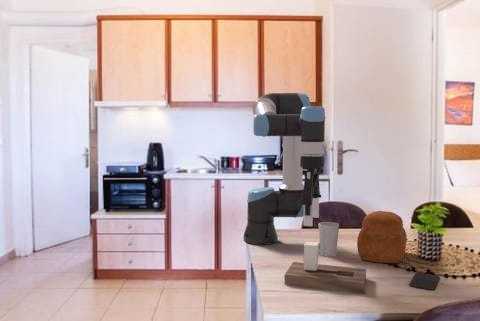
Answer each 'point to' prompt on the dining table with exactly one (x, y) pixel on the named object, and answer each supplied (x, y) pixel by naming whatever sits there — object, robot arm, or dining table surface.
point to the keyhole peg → (311, 256)
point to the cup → (328, 238)
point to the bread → (382, 238)
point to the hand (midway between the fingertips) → (311, 221)
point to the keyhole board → (327, 277)
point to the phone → (424, 281)
